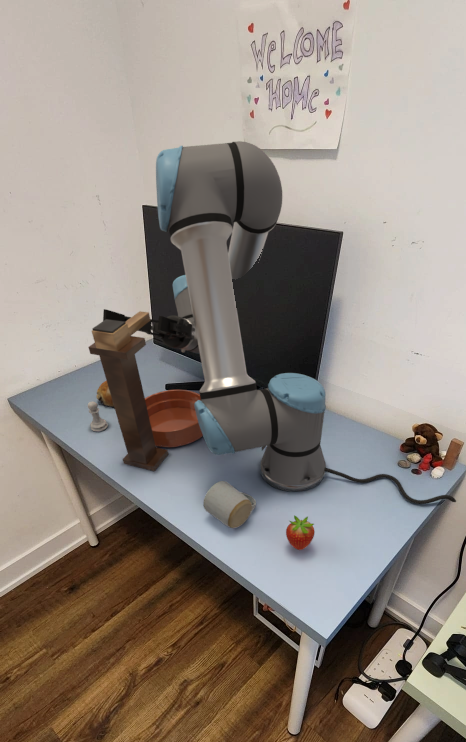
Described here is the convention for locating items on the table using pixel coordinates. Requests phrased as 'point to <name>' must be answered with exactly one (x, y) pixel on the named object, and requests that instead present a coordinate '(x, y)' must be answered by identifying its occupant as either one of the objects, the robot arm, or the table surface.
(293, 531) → the fruit
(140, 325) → the hairbrush
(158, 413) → the bowl
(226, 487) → the ceramic mug
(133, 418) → the stand
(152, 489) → the table surface
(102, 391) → the bread roll
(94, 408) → the chess piece
